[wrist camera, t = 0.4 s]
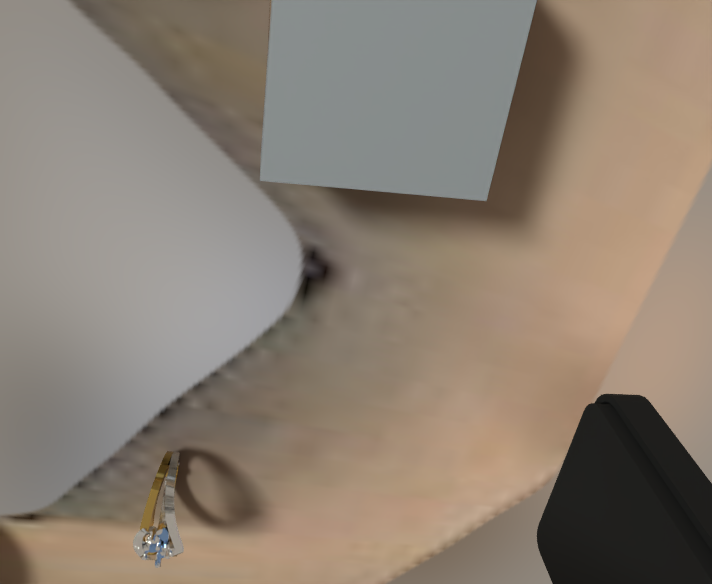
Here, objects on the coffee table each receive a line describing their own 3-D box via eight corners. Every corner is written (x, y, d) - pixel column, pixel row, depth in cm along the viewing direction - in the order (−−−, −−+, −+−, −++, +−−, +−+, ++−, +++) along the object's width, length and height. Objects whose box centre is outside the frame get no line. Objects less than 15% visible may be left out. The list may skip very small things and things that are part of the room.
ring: (155, 426, 47) (135, 516, 40) (201, 431, 47) (189, 520, 40) (146, 495, 50) (126, 589, 43) (189, 499, 50) (176, 592, 44)
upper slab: (277, -93, 28) (278, -93, 25) (517, -55, 30) (549, -50, 27) (260, 152, 34) (259, 180, 30) (465, 172, 35) (486, 201, 32)
